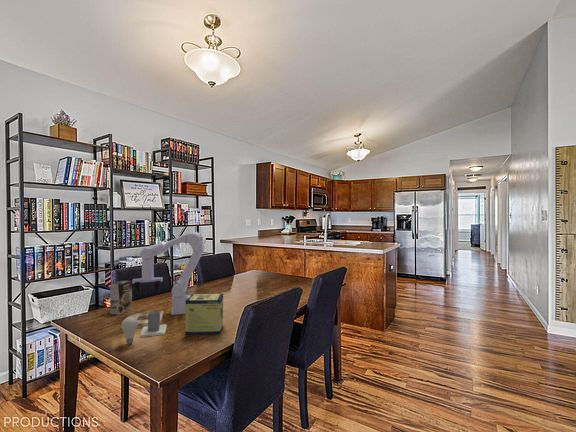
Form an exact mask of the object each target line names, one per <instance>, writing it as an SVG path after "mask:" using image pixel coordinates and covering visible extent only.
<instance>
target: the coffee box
mask: <svg viewBox="0 0 576 432" xmlns="http://www.w3.org/2000/svg"><path fill="white" fill-rule="evenodd" d="M109 286H110V293H109V295H110V296H109V297H110V299H109V300H110V301H109V305H110V306H109V314H110V315H118V316H120V315H122V314H123V315H124V314H125V313H127V312H130V311H133V304H132V303H133V293H132V292H133V283H132V280H119V281H116V282H112V283H110V285H109Z"/></svg>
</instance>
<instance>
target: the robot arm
mask: <svg viewBox="0 0 576 432" xmlns="http://www.w3.org/2000/svg"><path fill="white" fill-rule="evenodd" d="M203 240H204V238H203V237H202V235H201V233H199V231H193V232H191V233H187V234H182V235H179V236H178V237H175V238H173V239H171V240H169V241H161V240H160V241H157V242H156V243H155V244H152V245H148V247H145V248H143V249H141V251H140V257H141V277H140V278H133V279H132V280H131V281H132V284H134V287H135V289H136V291H137V294H138V297H142V284H143V283H154V296H155V297H156V296H158V290H159V287H160V285H161V282H163V279H164V277H163V276H162V277H161V276H160V277H155V272H154V270H155V269H154V268H155V263H154V262H155V261H154V257H156V256H159V255H161V254H164V253H165V252H168V249H169V248H171V247H174V246H175V245H178V244H181V243H184V244H188V245H189V246H190V247H191V249H192V251H193V252H192V254H191V255H190V258H189V260H188V262H187V264H186V265H185V268H184V270H183V271H182V273H181V276H180V278H179V279H178V280H177V283H176V284H175V285H174V286H173V287H172V288H171V294H172V295H171V297H172V298H171V301H172V305H171V306H172V309H171V314H170V315H171V316H175V315H185V303H186V299H188V298H189V296H190V295H191V294H187V293H186V292H187V290H188V284H189V281H190V279H191V276H193V273H194V271H195V269H196V267H197V265H198V263H199V261H200V259H201V257H202V255H203V253H204V251H205V250H204V241H203Z"/></svg>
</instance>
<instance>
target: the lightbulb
mask: <svg viewBox="0 0 576 432" xmlns="http://www.w3.org/2000/svg"><path fill="white" fill-rule="evenodd" d="M137 326H138V321H137V319H136V318H134V317H128V316H126V317H125V318H124V319H123V320H122V322H121V325H120V327H121V330H122V332H123V333H124V336H125V342H126V344H128V345H131V344H132V343H133V342H134V338H135V333H136V331H137V329H138V328H137Z"/></svg>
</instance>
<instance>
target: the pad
mask: <svg viewBox="0 0 576 432" xmlns="http://www.w3.org/2000/svg"><path fill="white" fill-rule="evenodd" d="M167 327H168V325H167V324H166V323H165V324H161V325H160V329H159V331H149V332H148V326H146V327H142V330H141V332H140V335H139V337H140V338H146V337H155V336H164V335H166V331H167Z"/></svg>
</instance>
